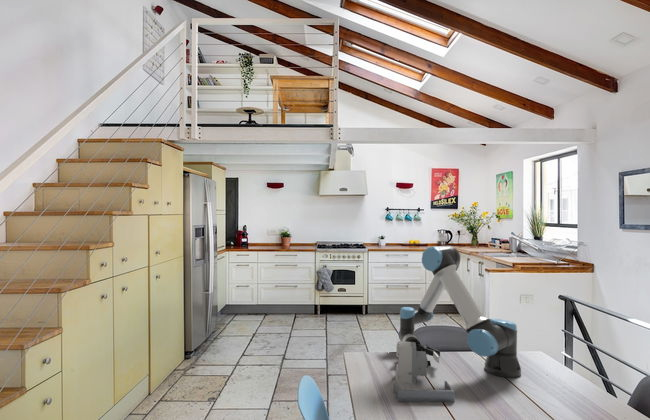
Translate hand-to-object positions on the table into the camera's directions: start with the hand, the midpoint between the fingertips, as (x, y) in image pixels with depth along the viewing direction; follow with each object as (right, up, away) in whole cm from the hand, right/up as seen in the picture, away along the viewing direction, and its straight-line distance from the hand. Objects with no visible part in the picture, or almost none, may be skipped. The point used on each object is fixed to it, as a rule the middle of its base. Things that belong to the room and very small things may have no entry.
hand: (423, 359), depth 169 cm
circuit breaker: (-6, -6, -8) cm, 12 cm away
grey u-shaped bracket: (-6, -5, -22) cm, 23 cm away
